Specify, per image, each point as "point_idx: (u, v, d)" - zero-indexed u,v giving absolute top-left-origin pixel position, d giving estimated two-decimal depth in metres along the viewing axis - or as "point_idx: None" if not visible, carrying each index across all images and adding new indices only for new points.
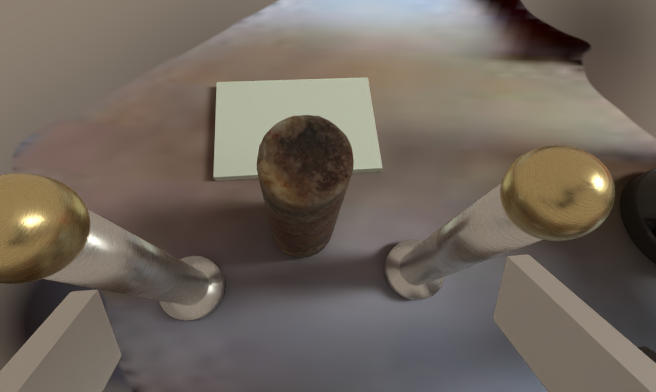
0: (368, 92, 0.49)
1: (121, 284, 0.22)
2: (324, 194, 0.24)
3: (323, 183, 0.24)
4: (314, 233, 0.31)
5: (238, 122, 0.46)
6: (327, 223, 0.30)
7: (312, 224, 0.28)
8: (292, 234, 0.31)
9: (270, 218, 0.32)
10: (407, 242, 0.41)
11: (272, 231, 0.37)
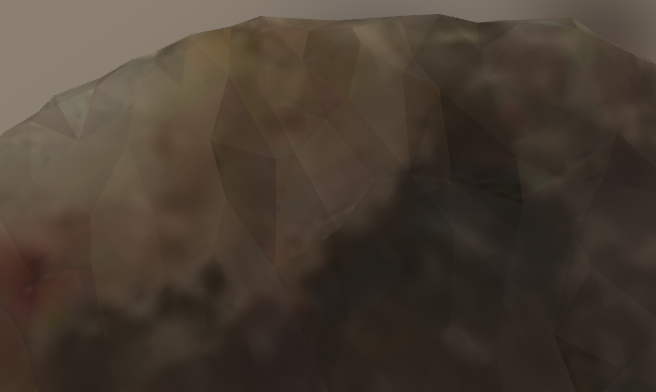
0: None
1: None
2: None
3: None
4: None
5: None
6: None
7: None
8: None
9: None
10: None
11: None
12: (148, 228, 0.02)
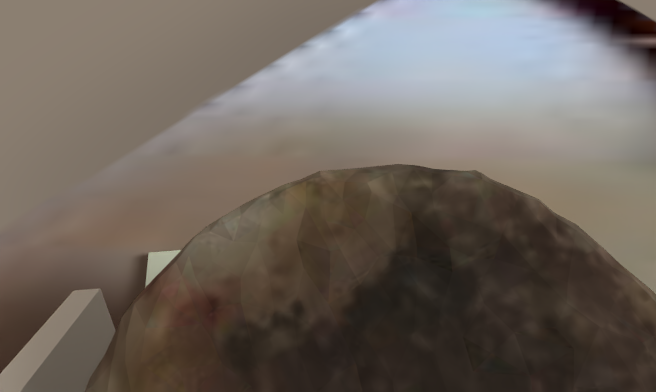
0: None
1: None
2: None
3: None
4: None
5: None
6: None
7: None
8: None
9: None
10: None
11: None
12: (266, 283, 0.04)
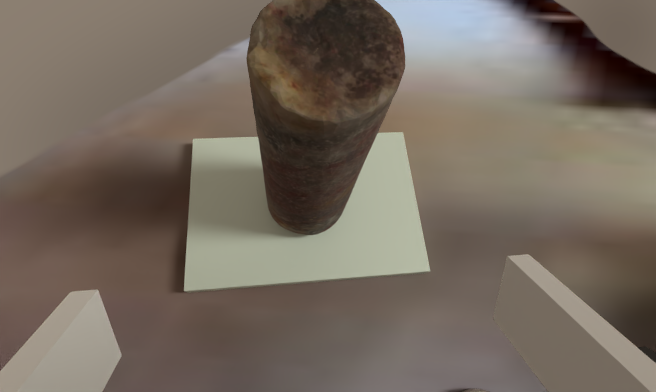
0: (404, 154, 0.36)
1: None
2: (360, 103, 0.14)
3: (357, 87, 0.15)
4: (330, 190, 0.21)
5: (223, 200, 0.32)
6: (351, 173, 0.20)
7: (332, 169, 0.18)
8: (298, 191, 0.21)
9: (266, 169, 0.22)
10: None
11: (268, 197, 0.27)
12: (294, 8, 0.15)
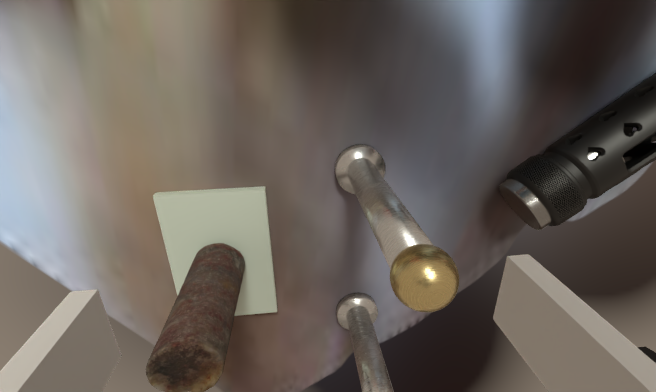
0: (174, 196, 0.46)
1: None
2: (213, 355, 0.33)
3: (204, 355, 0.33)
4: (233, 304, 0.41)
5: None
6: (225, 304, 0.39)
7: (229, 324, 0.38)
8: (234, 315, 0.42)
9: None
10: (338, 175, 0.47)
11: None
12: (164, 382, 0.33)
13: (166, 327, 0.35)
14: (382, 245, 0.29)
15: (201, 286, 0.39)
